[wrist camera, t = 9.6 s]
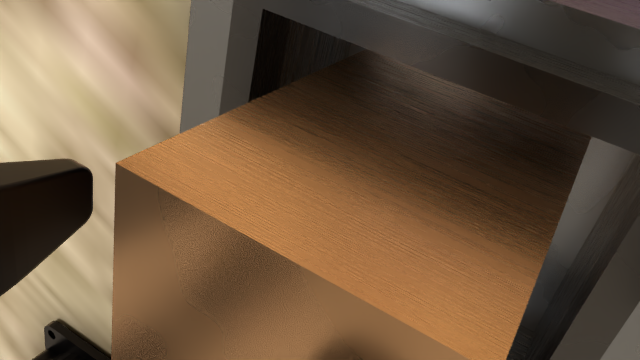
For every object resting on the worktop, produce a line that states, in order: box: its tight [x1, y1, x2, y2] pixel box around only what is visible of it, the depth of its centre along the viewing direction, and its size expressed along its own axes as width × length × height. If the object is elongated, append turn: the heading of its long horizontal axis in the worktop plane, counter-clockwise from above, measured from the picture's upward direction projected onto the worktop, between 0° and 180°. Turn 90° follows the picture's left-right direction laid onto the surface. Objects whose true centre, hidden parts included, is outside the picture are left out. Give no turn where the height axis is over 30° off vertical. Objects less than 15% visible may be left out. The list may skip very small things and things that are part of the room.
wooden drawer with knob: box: [111, 49, 592, 360], centre depth 10 cm, size 5×5×9 cm
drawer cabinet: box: [180, 0, 640, 360], centre depth 12 cm, size 11×9×5 cm
